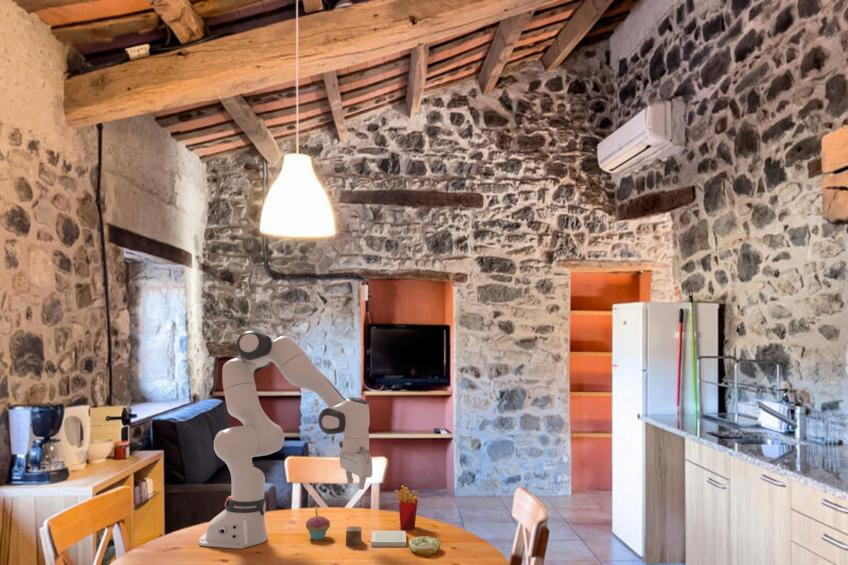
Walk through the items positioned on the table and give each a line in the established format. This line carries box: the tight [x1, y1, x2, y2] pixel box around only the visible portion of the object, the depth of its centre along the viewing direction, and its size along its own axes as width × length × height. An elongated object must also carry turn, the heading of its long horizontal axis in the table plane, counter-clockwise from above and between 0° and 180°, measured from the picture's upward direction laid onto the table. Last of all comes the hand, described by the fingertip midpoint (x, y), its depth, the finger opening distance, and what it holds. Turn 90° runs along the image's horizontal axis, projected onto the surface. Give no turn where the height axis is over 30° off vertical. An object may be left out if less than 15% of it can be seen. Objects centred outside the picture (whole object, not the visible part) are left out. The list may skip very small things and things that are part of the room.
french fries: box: [394, 485, 419, 531], centre depth 243 cm, size 9×8×15 cm
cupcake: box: [305, 504, 331, 541], centre depth 230 cm, size 9×8×12 cm
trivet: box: [370, 530, 407, 547], centre depth 228 cm, size 12×12×2 cm
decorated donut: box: [408, 536, 441, 557], centre depth 219 cm, size 10×11×4 cm
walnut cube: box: [345, 526, 363, 547], centre depth 225 cm, size 5×5×5 cm
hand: (355, 486), depth 226 cm, fingers open, 8 cm apart
